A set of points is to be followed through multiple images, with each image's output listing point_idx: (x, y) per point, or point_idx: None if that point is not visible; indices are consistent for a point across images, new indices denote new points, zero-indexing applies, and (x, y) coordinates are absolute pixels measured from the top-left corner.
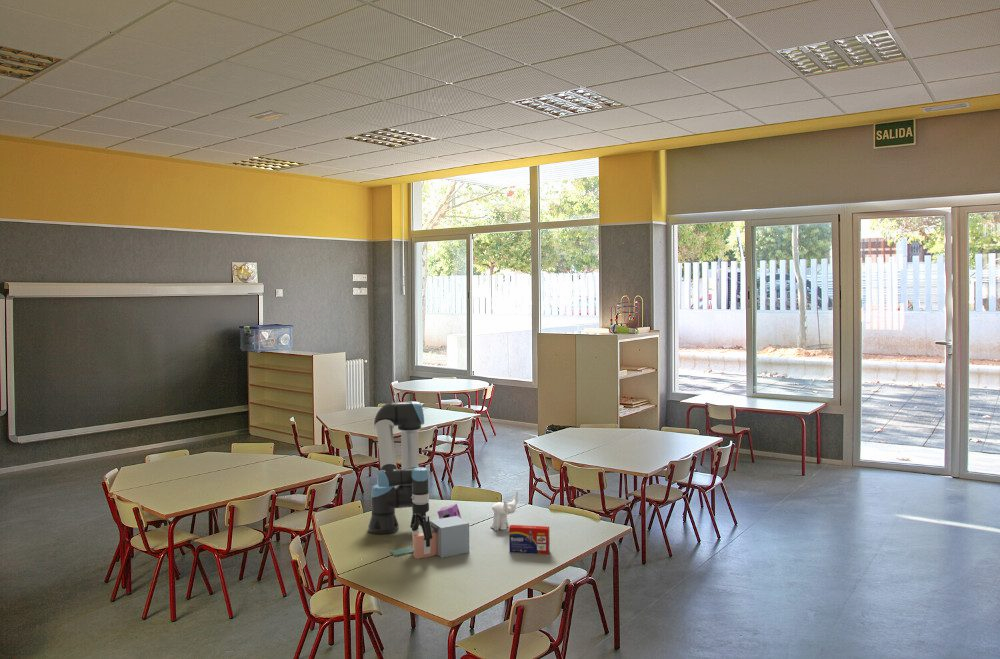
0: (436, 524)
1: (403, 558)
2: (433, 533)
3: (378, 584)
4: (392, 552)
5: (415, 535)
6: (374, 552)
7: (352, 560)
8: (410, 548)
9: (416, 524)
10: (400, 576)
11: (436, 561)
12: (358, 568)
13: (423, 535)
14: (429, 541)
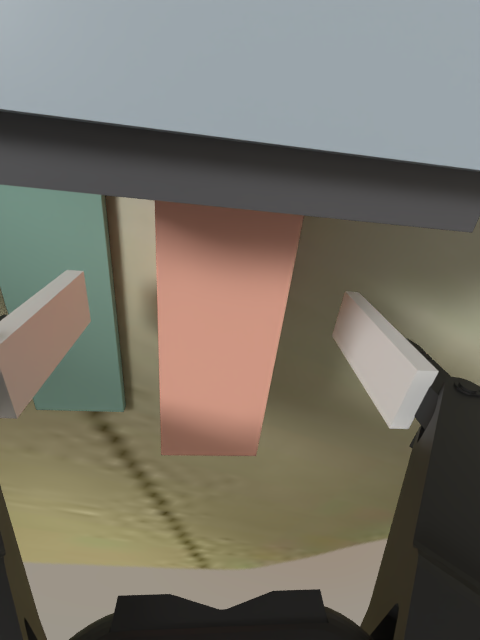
0: (319, 112)
1: None
2: (286, 226)
3: (389, 525)
4: (71, 408)
5: (204, 449)
6: (10, 459)
7: (90, 536)
8: (30, 290)
9: (6, 518)
10: (393, 462)
11: (379, 241)
12: (197, 537)
13: (266, 384)
14: (443, 376)
